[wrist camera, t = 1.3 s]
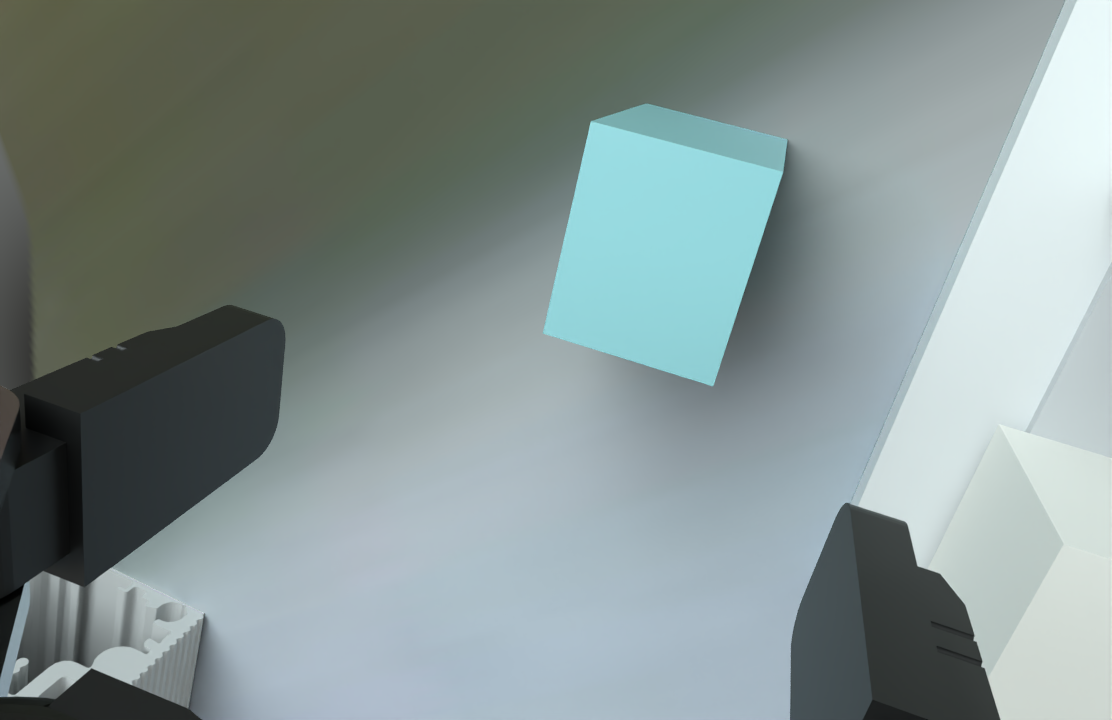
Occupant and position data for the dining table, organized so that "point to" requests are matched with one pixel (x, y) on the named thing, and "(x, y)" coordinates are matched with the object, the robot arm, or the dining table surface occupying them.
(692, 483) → the dining table surface
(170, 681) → the aluminum extrusion profile
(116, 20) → the dining table surface
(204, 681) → the dining table surface
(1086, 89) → the rail panel
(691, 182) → the block
